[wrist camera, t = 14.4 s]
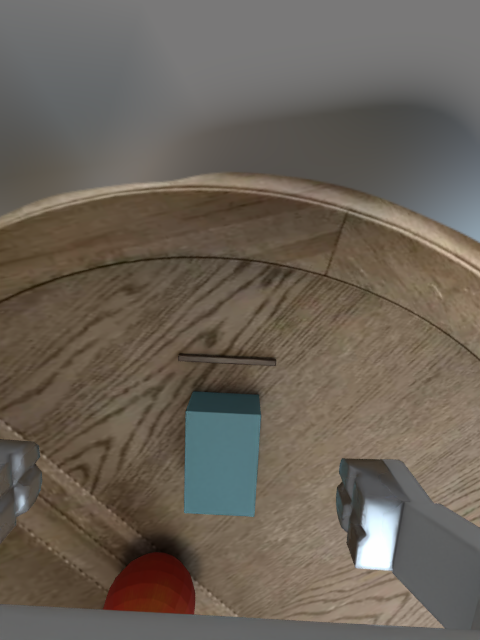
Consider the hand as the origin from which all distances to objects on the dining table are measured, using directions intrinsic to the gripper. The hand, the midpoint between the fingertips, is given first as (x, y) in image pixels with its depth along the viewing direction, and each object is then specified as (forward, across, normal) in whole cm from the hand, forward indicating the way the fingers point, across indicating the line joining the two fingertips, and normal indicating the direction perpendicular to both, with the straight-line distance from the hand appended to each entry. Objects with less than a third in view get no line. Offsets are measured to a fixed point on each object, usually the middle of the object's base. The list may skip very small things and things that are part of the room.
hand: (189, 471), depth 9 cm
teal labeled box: (+20, 0, +14) cm, 25 cm away
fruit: (+25, +7, +32) cm, 41 cm away
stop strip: (+25, 0, +5) cm, 26 cm away
